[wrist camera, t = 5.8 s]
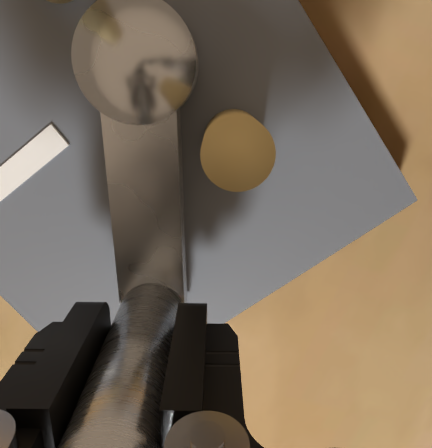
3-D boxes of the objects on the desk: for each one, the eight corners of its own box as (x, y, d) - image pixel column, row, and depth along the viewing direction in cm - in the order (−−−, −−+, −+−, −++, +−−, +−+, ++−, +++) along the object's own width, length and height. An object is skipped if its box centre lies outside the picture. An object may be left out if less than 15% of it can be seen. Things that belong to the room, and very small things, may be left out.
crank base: (137, -237, 10) (81, -463, 6) (395, 187, 13) (474, 232, 9) (-198, 105, 12) (-398, 115, 8) (91, 385, 16) (48, 488, 12)
